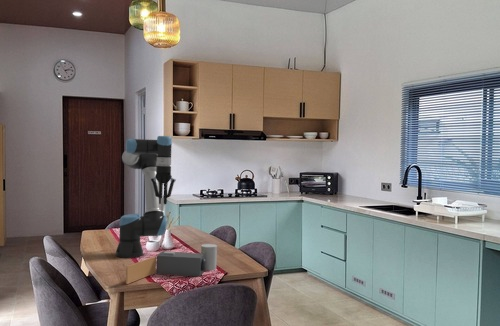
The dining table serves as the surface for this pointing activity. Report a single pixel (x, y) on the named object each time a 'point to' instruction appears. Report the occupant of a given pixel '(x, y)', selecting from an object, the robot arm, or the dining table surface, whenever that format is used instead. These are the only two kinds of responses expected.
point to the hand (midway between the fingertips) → (162, 210)
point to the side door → (140, 270)
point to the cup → (210, 255)
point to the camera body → (181, 263)
